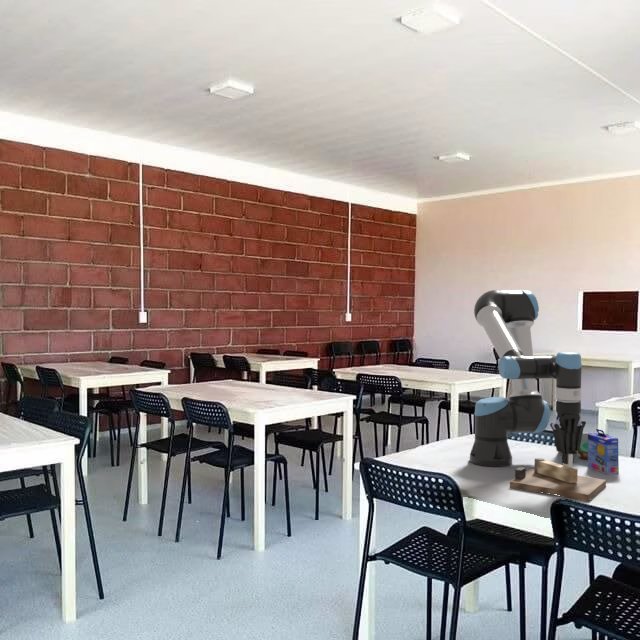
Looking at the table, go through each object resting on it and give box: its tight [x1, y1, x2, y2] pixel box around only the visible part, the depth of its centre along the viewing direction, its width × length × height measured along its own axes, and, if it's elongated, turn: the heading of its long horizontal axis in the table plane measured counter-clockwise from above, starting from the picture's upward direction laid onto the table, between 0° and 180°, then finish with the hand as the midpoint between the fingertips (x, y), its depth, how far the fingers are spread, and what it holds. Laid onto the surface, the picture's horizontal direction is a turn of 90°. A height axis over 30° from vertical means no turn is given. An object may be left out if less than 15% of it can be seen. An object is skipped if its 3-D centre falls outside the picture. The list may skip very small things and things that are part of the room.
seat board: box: [509, 466, 607, 502], centre depth 211 cm, size 24×20×5 cm
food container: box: [577, 432, 610, 462], centre depth 246 cm, size 12×6×10 cm, turn 69°
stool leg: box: [533, 457, 579, 483], centre depth 215 cm, size 16×3×4 cm, turn 27°
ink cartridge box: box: [587, 428, 620, 475], centre depth 231 cm, size 10×6×14 cm, turn 16°
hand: (567, 473), depth 213 cm, fingers closed
